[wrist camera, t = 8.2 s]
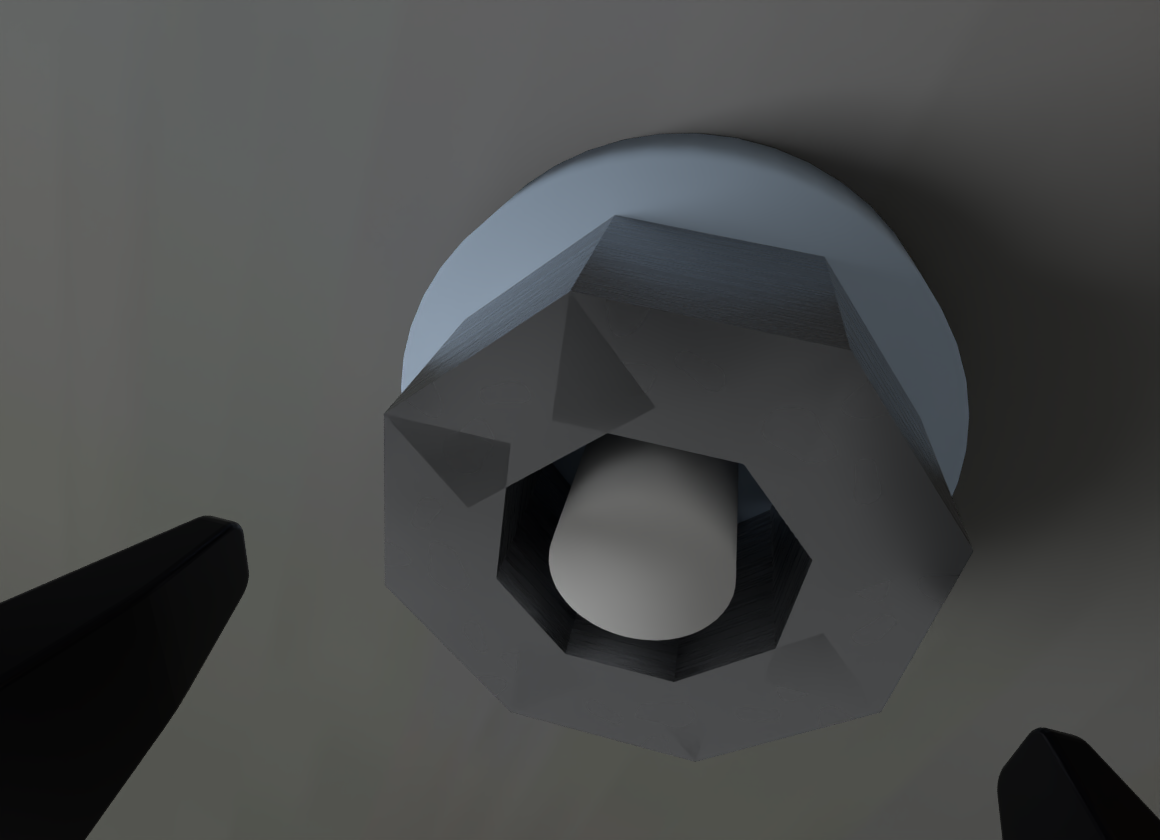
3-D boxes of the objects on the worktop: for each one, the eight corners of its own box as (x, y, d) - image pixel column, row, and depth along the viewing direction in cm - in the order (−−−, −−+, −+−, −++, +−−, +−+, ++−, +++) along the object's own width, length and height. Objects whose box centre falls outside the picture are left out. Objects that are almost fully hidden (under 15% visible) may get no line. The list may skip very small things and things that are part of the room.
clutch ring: (980, 287, 10) (1062, 395, 7) (815, 643, 13) (831, 798, 11) (473, 186, 10) (382, 251, 8) (451, 553, 14) (385, 678, 11)
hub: (1039, 195, 11) (1226, 330, 6) (837, 617, 15) (870, 853, 11) (455, 84, 12) (286, 141, 7) (434, 518, 16) (325, 702, 12)
